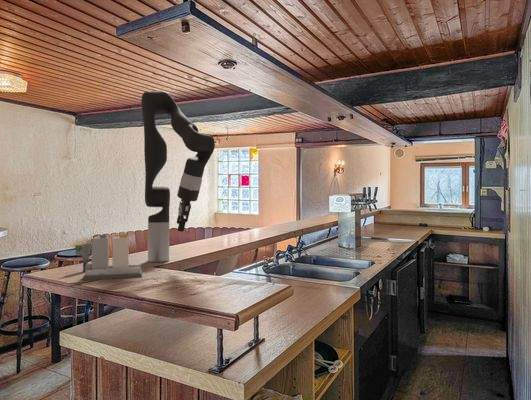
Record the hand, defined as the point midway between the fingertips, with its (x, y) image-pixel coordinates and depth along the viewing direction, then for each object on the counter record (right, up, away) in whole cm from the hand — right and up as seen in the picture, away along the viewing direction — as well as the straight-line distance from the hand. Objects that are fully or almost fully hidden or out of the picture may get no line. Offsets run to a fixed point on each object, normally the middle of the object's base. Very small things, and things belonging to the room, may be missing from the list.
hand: (179, 227), depth 144 cm
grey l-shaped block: (-20, -16, -12) cm, 28 cm away
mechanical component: (-35, -16, -2) cm, 38 cm away
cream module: (-18, -15, -11) cm, 26 cm away
